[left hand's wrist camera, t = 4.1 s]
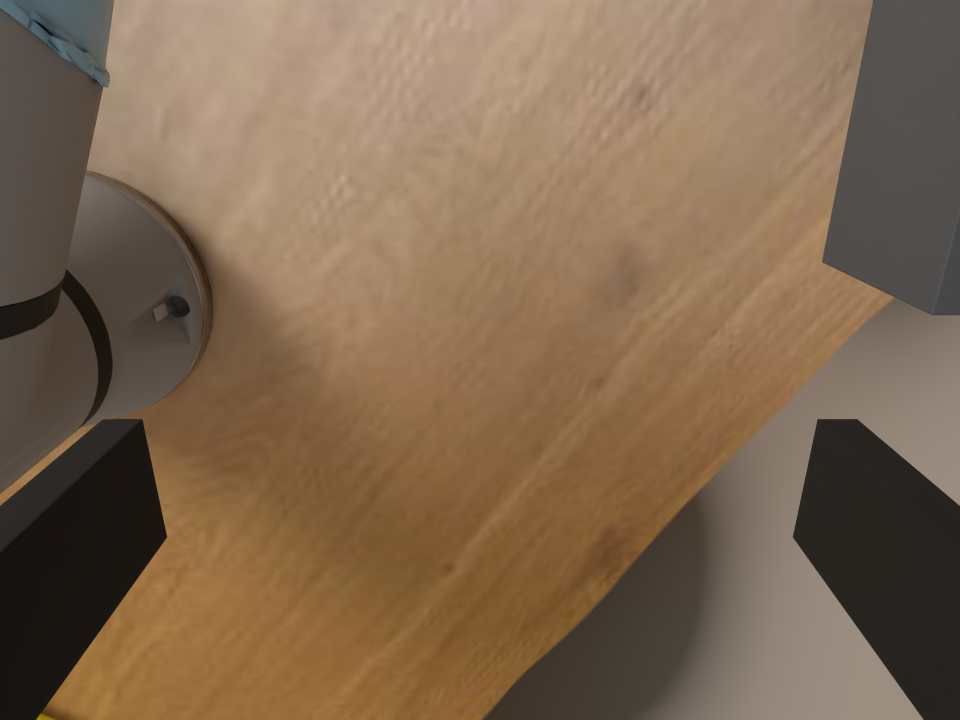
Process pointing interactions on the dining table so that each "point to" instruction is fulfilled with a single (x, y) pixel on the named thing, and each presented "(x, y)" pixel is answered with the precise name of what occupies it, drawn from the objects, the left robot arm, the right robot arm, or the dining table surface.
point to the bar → (904, 159)
